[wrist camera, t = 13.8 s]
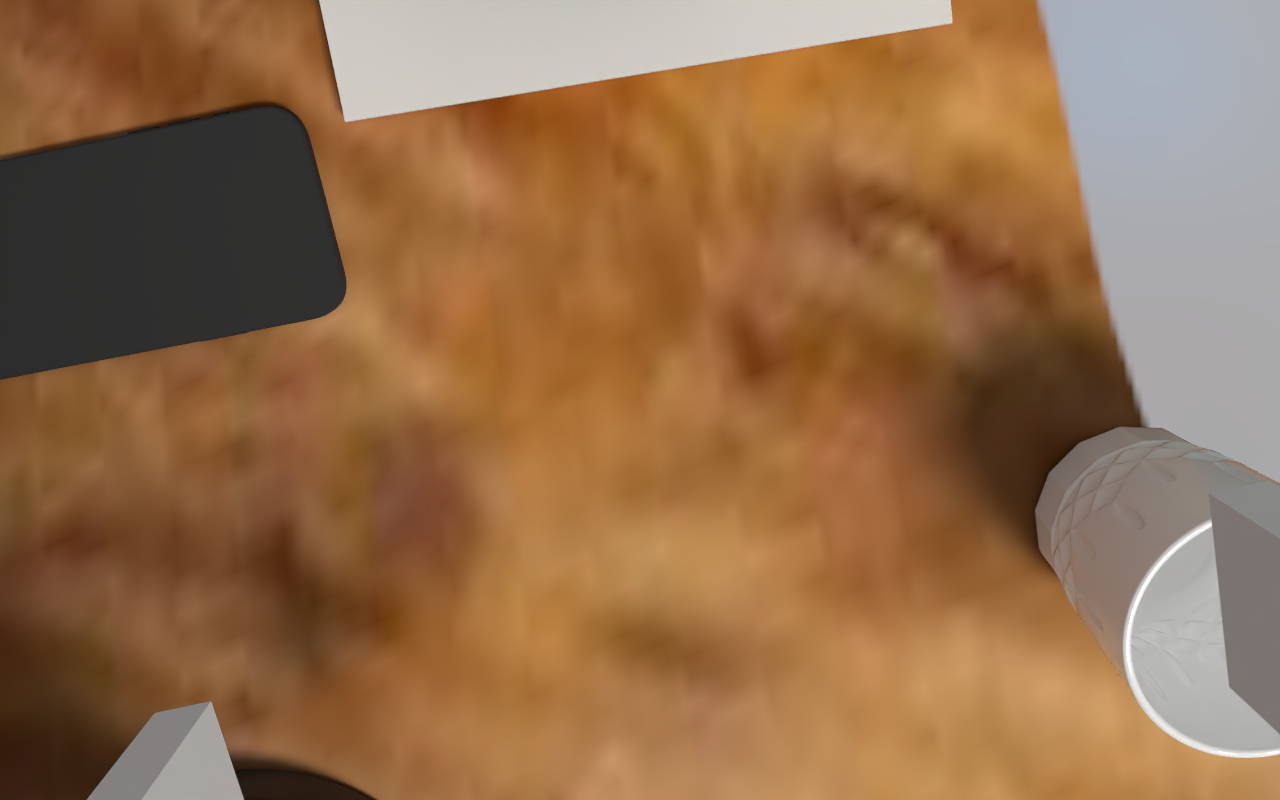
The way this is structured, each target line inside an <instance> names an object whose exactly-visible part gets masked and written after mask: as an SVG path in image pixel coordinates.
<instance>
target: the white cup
mask: <svg viewBox="0 0 1280 800" xmlns="http://www.w3.org/2000/svg"><path fill="white" fill-rule="evenodd" d="M1265 481H1270V482H1272V483H1274V484H1276V485H1277V486H1279V487H1280V483H1278V482H1276V481H1274V480H1272V479H1270V478H1268V477H1266V476H1265V475H1263V474H1261V473H1259V472H1257V471H1255V470H1253V469H1251V468H1249V467H1247V466H1245V465H1244V464H1242V463H1239V462H1237V461H1235V460H1233V459H1230V458H1228V457H1226V456H1223V455H1221V454H1220V453H1218V452H1215V451H1213V450H1209V449H1205V448H1201V447H1198V446H1196V445H1193V444H1191V443H1189V442H1187V441H1185V440H1183V439H1181V438H1180V437H1178V436H1176V435H1174V434H1172V433H1170V432H1169V431H1167V430H1164V429H1162V428H1142V427H1117V428H1115V429H1112V430H1110V431H1107V432H1105V433H1102V434H1100V435H1097V436H1095V437H1092V438H1090V439H1087V440H1085V441H1082V442H1080V443H1078V444H1077V445H1076V446H1075V447H1074V448H1073V449H1072V450H1071V451H1070V452H1069V453H1068V454H1067V455H1066V456H1065V457H1064V458H1063V459H1062V460H1061V461H1060V462H1059V463H1058V464H1057V465H1056V466H1055V467H1054V468H1053V469H1052V470H1051V471H1050V472H1049V474H1048V476H1047V479H1046V482H1045V484H1044V487H1043V490H1042V492H1041V495H1040V498H1039V500H1038V503H1037V506H1036V508H1035V518H1036V527H1037V536H1038V545H1039V550H1040V552H1041V553H1042V555H1043V556H1044V558H1045V559H1046V560H1047V562H1048V563H1049V565H1050V566H1051V568H1052V569H1053V570H1054V572H1055V573H1056V575H1057V576H1058V578H1059V580H1060V582H1061V584H1062V586H1063V589H1064V592H1065V595H1066V596H1067V598H1068V600H1069V601H1070V602H1071V604H1072V606H1073V607H1074V609H1075V611H1076V612H1077V614H1078V616H1079V617H1080V619H1081V621H1082V622H1083V623H1084V625H1085V626H1086V627H1087V629H1088V630H1089V632H1090V633H1091V635H1092V636H1093V637H1094V639H1095V640H1096V642H1097V643H1098V645H1099V646H1100V648H1101V649H1102V651H1103V652H1104V654H1105V655H1106V657H1107V658H1108V660H1109V661H1110V663H1111V664H1112V665H1113V667H1114V668H1115V670H1116V671H1117V673H1118V674H1119V676H1120V677H1121V678H1122V680H1123V681H1124V683H1125V684H1126V686H1127V687H1128V689H1129V690H1130V692H1131V693H1132V695H1133V696H1134V697H1135V699H1136V700H1137V702H1138V703H1139V705H1140V706H1141V708H1142V709H1143V710H1144V712H1145V713H1146V714H1147V715H1148V717H1149V718H1150V719H1151V720H1152V721H1153V722H1154V723H1155V724H1156V725H1157V726H1158V727H1160V728H1161V729H1162V730H1163V731H1164V732H1166V733H1167V734H1169V735H1170V736H1172V737H1173V738H1175V739H1176V740H1178V741H1180V742H1182V743H1184V744H1186V745H1188V746H1190V747H1192V748H1195V749H1198V750H1200V751H1203V752H1207V753H1211V754H1215V755H1220V756H1227V757H1237V758H1255V757H1266V756H1273V755H1278V754H1280V734H1279V733H1278V732H1277V731H1276V730H1275V729H1274V728H1272V727H1271V726H1270V725H1269V724H1268V723H1267V722H1266V721H1265V720H1264V719H1263V718H1262V717H1261V716H1260V715H1259V714H1258V713H1256V712H1255V711H1254V710H1253V709H1252V708H1251V707H1250V706H1249V705H1248V704H1247V703H1246V702H1245V701H1244V700H1243V699H1241V698H1240V697H1239V696H1238V695H1237V694H1236V693H1235V692H1234V691H1233V690H1232V689H1231V688H1230V687H1229V680H1228V671H1227V661H1226V652H1225V642H1224V633H1223V624H1222V614H1221V605H1220V595H1219V586H1218V576H1217V567H1216V558H1215V548H1214V539H1213V529H1212V520H1211V510H1210V501H1209V493H1212V492H1217V491H1222V490H1227V489H1231V488H1236V487H1241V486H1246V485H1251V484H1255V483H1260V482H1265Z"/></svg>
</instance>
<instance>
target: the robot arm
mask: <svg viewBox="0 0 1280 800" xmlns="http://www.w3.org/2000/svg"><path fill="white" fill-rule="evenodd" d="M1209 501H1210V510H1211V520H1212V529H1213V539H1214V548H1215V558H1216V567H1217V576H1218V586H1219V595H1220V605H1221V614H1222V624H1223V633H1224V642H1225V652H1226V661H1227V671H1228V680H1229V687H1230V688H1231V689H1232V690H1233V691H1234V692H1235V693H1236V694H1237V695H1238V696H1239V697H1240V698H1241V699H1243V700H1244V701H1245V702H1246V703H1247V704H1248V705H1249V706H1250V707H1251V708H1252V709H1253V710H1254V711H1255V712H1256V713H1258V714H1259V715H1260V716H1261V717H1262V718H1263V719H1264V720H1265V721H1266V722H1267V723H1268V724H1269V725H1270V726H1271V727H1272V728H1274V729H1275V730H1276V731H1277V732H1278V733H1279V734H1280V487H1279V486H1277V485H1276V484H1274V483H1272V482H1270V481H1265V482H1260V483H1255V484H1251V485H1246V486H1241V487H1236V488H1231V489H1227V490H1222V491H1217V492H1212V493H1209ZM87 800H370V799H368V798H366V797H364V796H363V795H361V794H359V793H357V792H355V791H352V790H350V789H348V788H346V787H343V786H341V785H338V784H335V783H333V782H330V781H327V780H323V779H320V778H317V777H312V776H308V775H304V774H298V773H292V772H285V771H275V770H244V771H234V768H233V765H232V762H231V759H230V756H229V753H228V750H227V747H226V744H225V741H224V738H223V735H222V732H221V729H220V726H219V723H218V720H217V717H216V714H215V712H214V709H213V706H212V703H211V701H209V702H205V703H200V704H195V705H190V706H185V707H181V708H176V709H171V710H166V711H161V712H157V713H154V714H153V716H152V717H151V718H150V720H149V721H148V722H147V723H146V725H145V726H144V727H143V728H142V730H141V731H140V732H139V734H138V735H137V736H136V737H135V739H134V740H133V741H132V742H131V744H130V745H129V746H128V748H127V749H126V750H125V751H124V753H123V754H122V755H121V756H120V758H119V759H118V760H117V762H116V763H115V764H114V765H113V767H112V768H111V769H110V770H109V772H108V773H107V774H106V776H105V777H104V778H103V779H102V781H101V782H100V783H99V785H98V786H97V787H96V788H95V790H94V791H93V792H92V793H91V795H90V796H89V797H88V799H87Z"/></svg>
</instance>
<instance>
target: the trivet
mask: <svg viewBox="0 0 1280 800" xmlns="http://www.w3.org/2000/svg"><path fill="white" fill-rule="evenodd" d="M319 2H320V6H321V11H322V16H323V21H324V25H325V30H326V35H327V39H328V44H329V49H330V53H331V58H332V63H333V67H334V72H335V77H336V81H337V86H338V91H339V95H340V100H341V105H342V109H343V114H344V119H345V122H352V121H358V120H365V119H371V118H377V117H383V116H389V115H395V114H401V113H408V112H414V111H420V110H426V109H432V108H438V107H444V106H451V105H457V104H463V103H469V102H475V101H481V100H487V99H494V98H500V97H506V96H512V95H518V94H524V93H530V92H537V91H543V90H549V89H555V88H561V87H567V86H573V85H580V84H586V83H592V82H598V81H604V80H610V79H616V78H623V77H629V76H635V75H641V74H647V73H653V72H659V71H666V70H672V69H678V68H684V67H690V66H696V65H702V64H709V63H715V62H721V61H727V60H733V59H739V58H745V57H752V56H758V55H764V54H770V53H776V52H782V51H788V50H795V49H801V48H807V47H813V46H819V45H825V44H831V43H838V42H844V41H850V40H856V39H862V38H868V37H874V36H881V35H887V34H893V33H899V32H905V31H911V30H917V29H924V28H930V27H936V26H942V25H947V24H951V23H952V12H951V1H950V0H319Z"/></svg>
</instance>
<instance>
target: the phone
mask: <svg viewBox="0 0 1280 800" xmlns="http://www.w3.org/2000/svg"><path fill="white" fill-rule="evenodd" d="M345 293H346V277H345V272H344V268H343V264H342V260H341V256H340V252H339V248H338V244H337V240H336V237H335V233H334V229H333V225H332V221H331V217H330V213H329V210H328V206H327V202H326V198H325V194H324V190H323V187H322V183H321V179H320V175H319V171H318V167H317V164H316V160H315V156H314V152H313V149H312V145H311V141H310V138H309V135H308V132H307V130H306V128H305V126H304V124H303V123H302V121H301V120H300V119H299V118H298V117H297V116H296V115H295V114H294V113H293V112H291V111H289V110H287V109H284V108H280V107H259V108H253V109H248V110H243V111H238V112H233V113H230V112H225V113H220V114H215V115H214V117H209V118H204V119H200V118H197V119H192V120H187V121H182V122H177V123H172V124H168V126H166V127H161V128H160V127H153V128H148V129H143V130H138V131H134V132H129V133H128V134H127V135H122V136H117V137H112V138H108V139H103V140H98V141H93V142H88V143H83V144H78V145H74V146H69V147H64V148H59V149H54V150H49V151H45V152H40V153H35V154H30V155H25V156H20V157H16V158H11V159H6V160H1V161H0V379H6V378H11V377H16V376H21V375H26V374H32V373H37V372H42V371H47V370H52V369H58V368H63V367H68V366H73V365H78V364H83V363H89V362H94V361H99V360H104V359H109V358H115V357H120V356H125V355H130V354H135V353H141V352H146V351H151V350H156V349H161V348H166V347H172V346H177V345H182V344H187V343H192V342H198V341H207V340H212V339H217V338H222V337H227V336H233V335H238V334H243V333H247V332H250V331H255V330H260V329H265V328H270V327H275V326H281V325H286V324H291V323H296V322H301V321H306V320H311V319H315V318H319V317H322V316H324V315H327V314H328V313H330V312H332V311H333V310H335V309H336V308H337V307H338V306H339V305H340V304H341V302H342V301H343V299H344V297H345Z"/></svg>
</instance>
